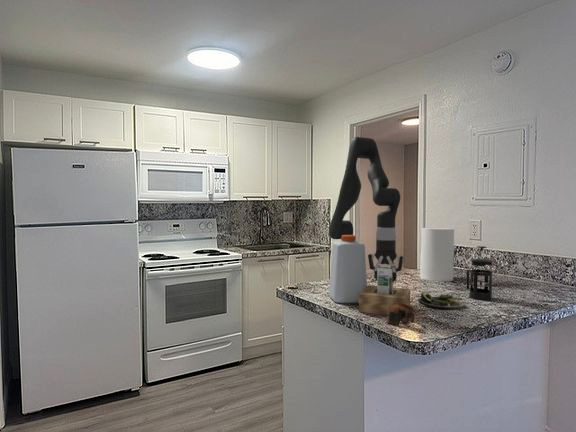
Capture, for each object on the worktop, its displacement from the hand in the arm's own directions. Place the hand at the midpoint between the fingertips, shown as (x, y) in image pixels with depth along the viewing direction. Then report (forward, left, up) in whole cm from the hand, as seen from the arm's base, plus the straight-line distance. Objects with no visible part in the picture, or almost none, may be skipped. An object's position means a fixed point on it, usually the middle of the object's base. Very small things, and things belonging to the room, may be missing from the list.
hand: (385, 280), depth 160 cm
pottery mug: (+9, -17, -12) cm, 22 cm away
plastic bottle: (-17, +9, -12) cm, 23 cm away
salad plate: (+20, +17, -12) cm, 28 cm away
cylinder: (+16, +76, -12) cm, 78 cm away
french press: (+36, +36, -12) cm, 52 cm away
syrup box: (0, 0, -9) cm, 9 cm away
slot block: (0, 0, -11) cm, 11 cm away
